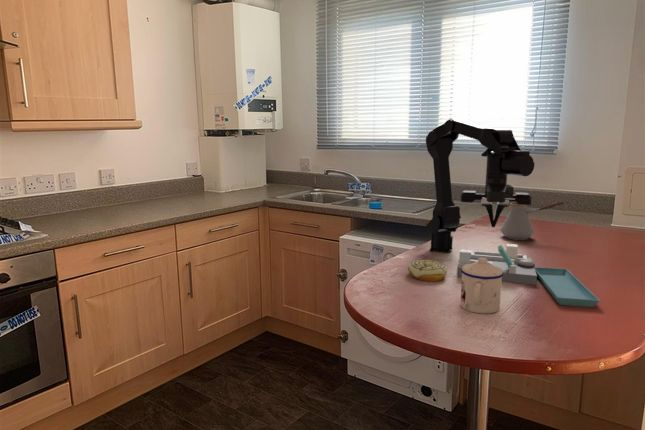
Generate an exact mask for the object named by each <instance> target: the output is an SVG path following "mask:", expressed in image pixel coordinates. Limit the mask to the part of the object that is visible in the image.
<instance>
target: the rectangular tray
mask: <svg viewBox="0 0 645 430" xmlns="http://www.w3.org/2000/svg"><path fill="white" fill-rule="evenodd" d="M534 269H535V271H536V274H537V278H538V279H539V280H540V282H541V283H542V285H543V286H544V287H545V289H546V290H547V291H548V292H549V294H551V296H552V297H553V299H554V300H555V301H556V302H557V303H558V304H559V305H560V306H569V307H570V306H571V307H572V306H573V307H584V308H585V307H586V308H595V306H596V305H598V304H599V302H600V301H601V299H600V298H599V297H597V296H596V295H595V294H594V293H593V292H592V291H591V290H590V289H589V288H588V287H587V286H585V285H584V283H582V282H581V281H580V280H579V279H578V278H577V277H576V276H575V275H574V274H573V273H572V272H571V271H570V270H569V269H567V268H558V267H557V268H555V267H554V268H553V267H536V266H535V267H534Z"/></svg>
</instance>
